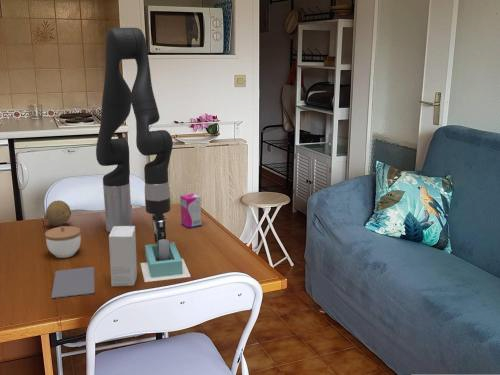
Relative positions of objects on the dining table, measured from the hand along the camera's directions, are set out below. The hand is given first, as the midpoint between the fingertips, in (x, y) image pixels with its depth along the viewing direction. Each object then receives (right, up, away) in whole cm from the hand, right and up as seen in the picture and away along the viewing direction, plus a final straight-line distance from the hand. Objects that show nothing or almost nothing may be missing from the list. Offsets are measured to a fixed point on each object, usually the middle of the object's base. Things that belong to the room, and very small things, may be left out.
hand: (160, 246), depth 165 cm
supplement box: (+6, +4, +33) cm, 34 cm away
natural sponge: (-42, +4, +31) cm, 53 cm away
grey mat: (-21, -8, -15) cm, 27 cm away
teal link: (+2, -5, -5) cm, 7 cm away
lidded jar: (-31, -3, +5) cm, 32 cm away
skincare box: (-7, -9, -15) cm, 19 cm away
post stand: (+3, -7, -8) cm, 11 cm away
